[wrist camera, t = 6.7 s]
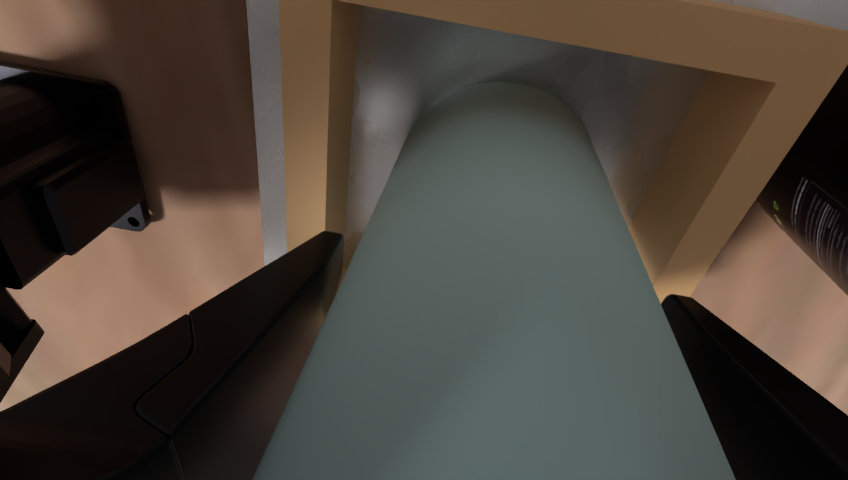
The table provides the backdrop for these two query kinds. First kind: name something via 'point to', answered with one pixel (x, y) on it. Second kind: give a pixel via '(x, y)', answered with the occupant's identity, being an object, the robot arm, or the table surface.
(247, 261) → the table surface
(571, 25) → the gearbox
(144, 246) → the table surface
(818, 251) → the supplement bottle
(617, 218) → the tin can
